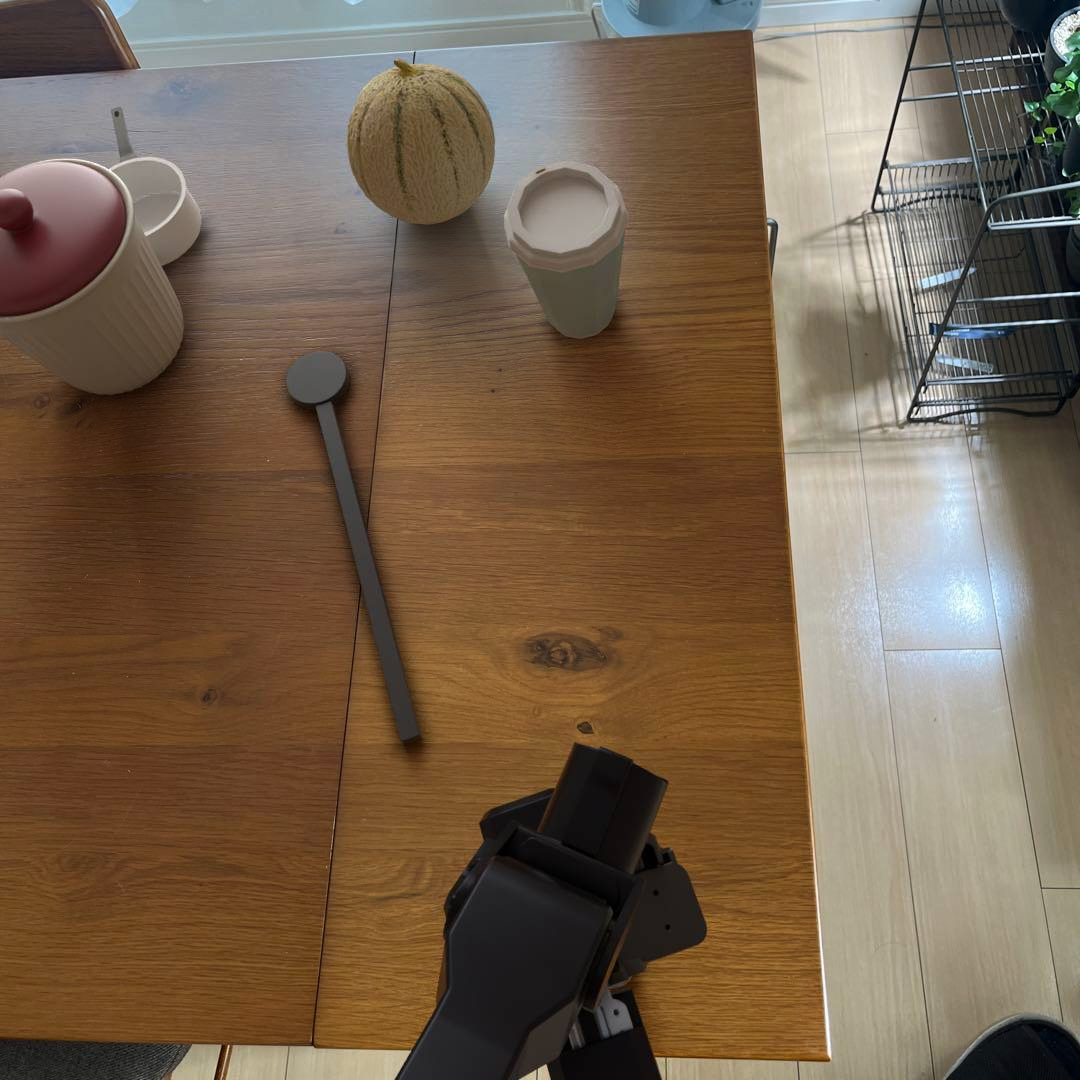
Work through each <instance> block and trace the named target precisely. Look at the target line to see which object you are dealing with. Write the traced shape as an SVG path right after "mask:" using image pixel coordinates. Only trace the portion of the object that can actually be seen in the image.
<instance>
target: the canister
mask: <svg viewBox="0 0 1080 1080" xmlns="http://www.w3.org/2000/svg"><path fill="white" fill-rule="evenodd" d="M184 331H185V325H184V315H183V312H182V306H181V304H180V301H179V299H178V297H177V294H176V293H175V290H174V288H173V287H172V284H171V282H170V280H169V279H168V276H167V274H166V272H165V271H164V269H163V266H161V264H160V262H159V260H158V259H157V257H156V255H155V253H154V251H153V249H152V247H151V245H150V243H149V242H148V240H147V238H146V236H145V234H144V232H143V230H142V228H141V226H140V224H139V222H138V221H137V219H136V217H135V208H134V203H133V199H132V196H131V194H130V192H129V190H128V188H127V186H126V185H125V184H124V182H123V181H122V180H121V179H120V178H119V177H118V176H117V175H116V174H115V173H113V172H112V171H110V170H109V168H107V167H105V166H103V165H101V164H98V163H95V162H92V161H90V160H89V161H88V160H84V159H78V158H55V159H46V160H40V161H36V162H32V163H29V164H26V165H23V166H20V167H18V168H14V169H12V170H11V171H8V172H6V173H4V174H2V175H0V337H2V338H3V339H4V340H6V341H7V342H9V343H10V344H11V345H12V346H14V347H15V348H17V349H18V350H20V352H22V353H23V354H25V355H26V356H28V358H30V359H31V360H33V361H34V362H36V363H37V364H39V365H40V366H42V367H43V368H44V369H46V370H47V371H49V372H50V373H51V374H53V375H54V376H56V377H57V378H59V379H60V380H61V381H63V382H65V383H67V384H69V386H72V387H74V388H75V389H78V390H82V391H84V392H86V393H90V394H96V395H110V396H111V395H115V394H123V393H125V392H132V391H134V390H136V389H140V388H142V387H143V386H144V385H147V384H149V383H150V382H151V381H154V379H157V378H158V376H160V374H161V373H163V372H165V371H166V368H168V367H169V366H170V365H171V364H172V362H173V359H175V358H176V356H177V353H178V351H179V350H180V348H181V342H182V341H183V339H184Z"/></svg>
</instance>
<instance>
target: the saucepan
mask: <svg viewBox="0 0 1080 1080" xmlns="http://www.w3.org/2000/svg"><path fill="white" fill-rule="evenodd" d="M110 113H111V119H112V122H113V123H112V124H113V127H114V132H115V138H116V142H117V147H118V148H117V149H118V154H119V158H120V159H119V163H117V164H115V165H113V166H111V167H110V168H108V169H109V170H110V171H112V172H113V173H115V174H116V175H117V176H118V177H119V178H120V179H121V180H122V181H123V182H124V184H125V185H126V186H127V188H128V190H129V192H130V194H131V196H132V199H133V200H134V199H136V198H137V197H140V196H144V195H145V194H148V193H152V192H157V191H166V190H167V191H176V192H179V193H181V195H178V194H174V193H159V194H154V195H150V196H147V197H144V198H142V199H139V200H137V201H136V202H134V208H135V217H136V219H137V221H138V222H139V224H140V226H141V228H142V230H143V232H144V234H145V236H146V238H147V240H148V242H149V243H150V245H151V247H152V249H153V251H154V253H155V255H156V257H157V259H158V260H159V262H160V264H161V266H162V267H163V266H165V265H167V264H170V263H171V262H174V261H176V260H177V259H178V258H180V257H181V256H182V255H183V254H185V253H186V252H187V251H188V250H189V249H190V248H191V247H192V246H193V245H194V243H195V242H196V240H197V239H198V237H199V234H200V232H201V229H202V223H203V221H202V222H201V219H202V220H203V218H202V217H203V216H202V213H201V214H200V212H201V210H200V207H199V205H198V204H197V202H196V200H195V199H194V197H193V196H192V194H191V192H190V191H189V189H188V187H187V183H186V178H185V176H184V174H183V171H181V169H180V168H179V167H178V166H177V165H176V164H174V163H173V162H171V161H169V160H167V159H164V158H160V157H155V156H145V157H144V156H143V157H141V156H140V157H138V156H137V154H136V153H135V151H134V148H133V146H132V144H131V141H130V138H129V132H128V129H127V125H126V120H125V116H124V112H123V108H122V107H121V106H117V107H114V108H110ZM198 207H199V208H198ZM200 225H201V226H200ZM200 227H201V228H200Z"/></svg>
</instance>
